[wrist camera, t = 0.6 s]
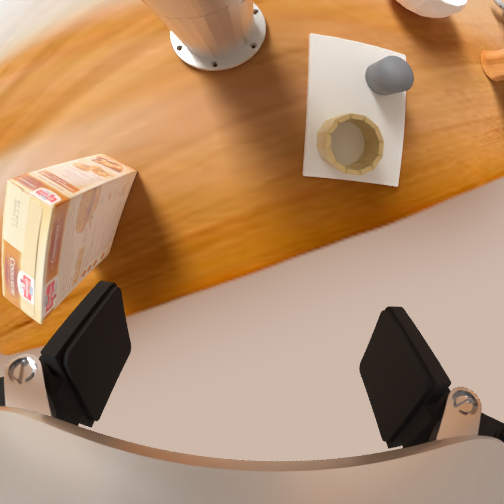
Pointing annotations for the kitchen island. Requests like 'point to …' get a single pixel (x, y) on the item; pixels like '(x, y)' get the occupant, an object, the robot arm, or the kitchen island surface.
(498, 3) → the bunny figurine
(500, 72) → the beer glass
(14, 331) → the kitchen island surface
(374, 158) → the brass ring
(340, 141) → the stand
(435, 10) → the cup
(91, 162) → the coffeecake box
